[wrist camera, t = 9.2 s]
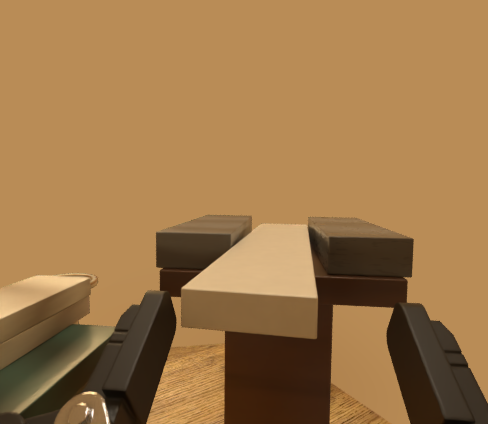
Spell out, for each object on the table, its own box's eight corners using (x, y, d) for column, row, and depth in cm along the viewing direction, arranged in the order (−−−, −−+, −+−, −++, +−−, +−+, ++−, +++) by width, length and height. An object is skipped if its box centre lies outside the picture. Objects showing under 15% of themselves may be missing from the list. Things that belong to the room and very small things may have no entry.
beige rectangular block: (316, 340, 10) (318, 297, 10) (180, 327, 11) (180, 288, 11) (307, 238, 32) (307, 224, 32) (261, 237, 33) (261, 223, 33)
